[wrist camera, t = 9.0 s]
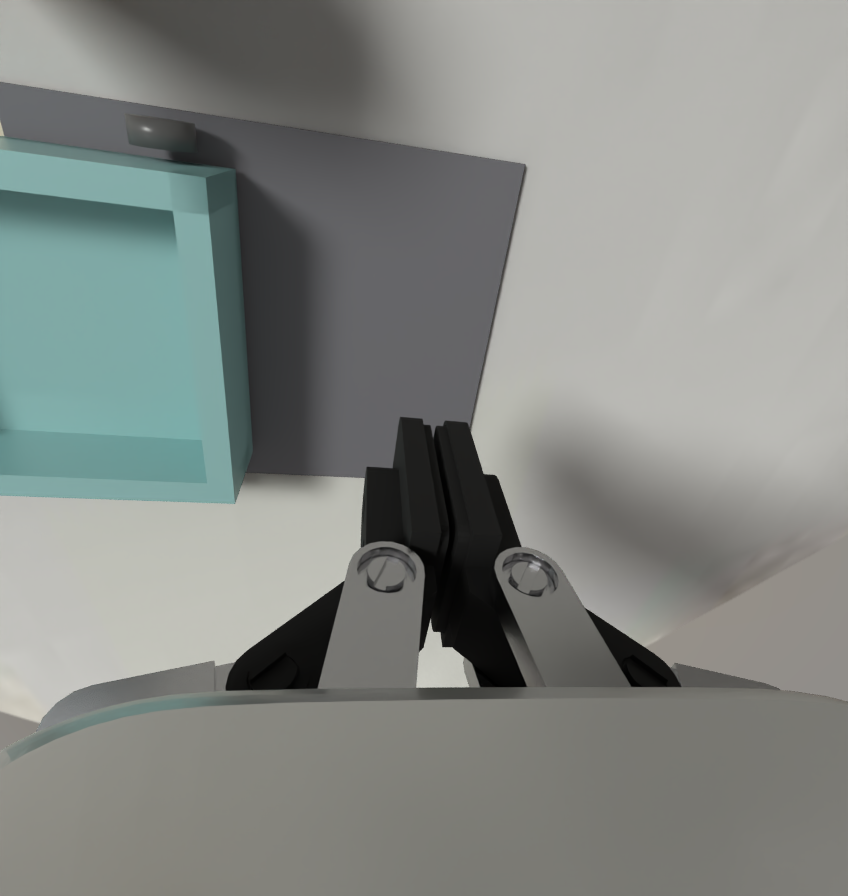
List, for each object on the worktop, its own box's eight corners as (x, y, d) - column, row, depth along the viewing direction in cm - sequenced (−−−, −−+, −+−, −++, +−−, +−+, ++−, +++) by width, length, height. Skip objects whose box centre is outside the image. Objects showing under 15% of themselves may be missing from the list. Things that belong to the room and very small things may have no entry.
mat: (523, 163, 19) (525, 164, 18) (457, 479, 27) (458, 482, 26) (-153, 58, 15) (-158, 57, 15) (2, 459, 23) (0, 461, 23)
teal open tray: (233, 128, 17) (201, 127, 13) (254, 471, 24) (236, 525, 21) (-222, 59, 15) (-396, 36, 11) (-44, 457, 22) (-116, 515, 19)
